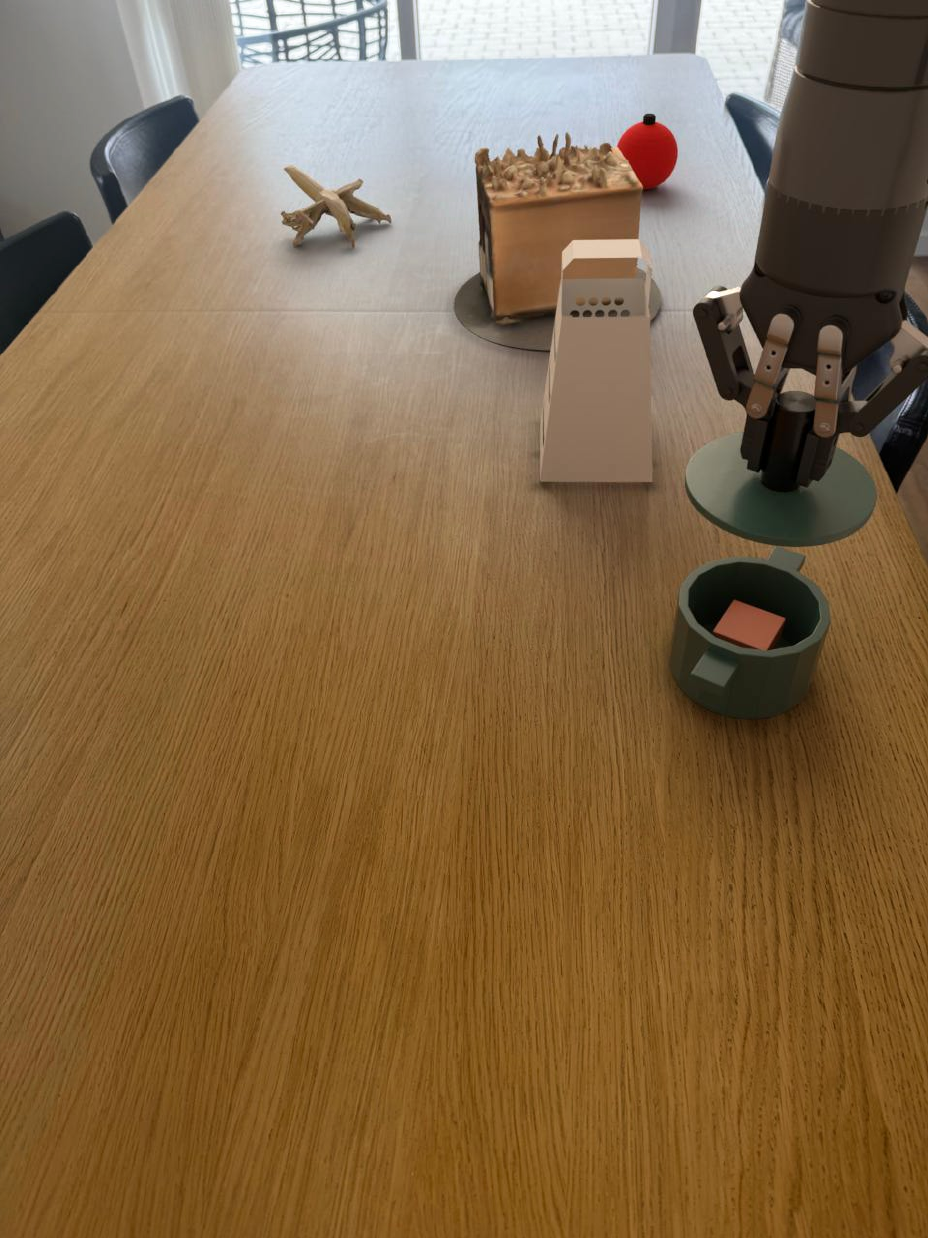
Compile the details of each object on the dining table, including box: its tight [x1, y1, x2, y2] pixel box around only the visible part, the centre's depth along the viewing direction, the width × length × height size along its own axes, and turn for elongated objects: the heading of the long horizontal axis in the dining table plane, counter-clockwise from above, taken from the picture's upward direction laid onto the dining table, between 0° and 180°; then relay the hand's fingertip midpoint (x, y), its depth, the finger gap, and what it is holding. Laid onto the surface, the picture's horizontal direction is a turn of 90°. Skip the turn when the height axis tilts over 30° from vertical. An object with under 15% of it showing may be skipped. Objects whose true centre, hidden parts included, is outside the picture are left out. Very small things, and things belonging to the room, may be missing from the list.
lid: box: [684, 390, 878, 548], centre depth 57 cm, size 11×11×7 cm
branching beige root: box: [280, 164, 392, 249], centre depth 134 cm, size 9×16×15 cm
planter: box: [453, 132, 662, 351], centre depth 111 cm, size 25×25×19 cm
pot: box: [668, 545, 832, 720], centre depth 71 cm, size 10×16×6 cm, turn 146°
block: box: [712, 600, 786, 650], centre depth 71 cm, size 4×4×4 cm
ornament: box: [616, 113, 679, 190], centre depth 140 cm, size 9×9×10 cm
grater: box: [539, 238, 654, 483], centre depth 88 cm, size 10×10×20 cm
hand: (782, 471), depth 58 cm, fingers closed on lid, 2 cm apart
